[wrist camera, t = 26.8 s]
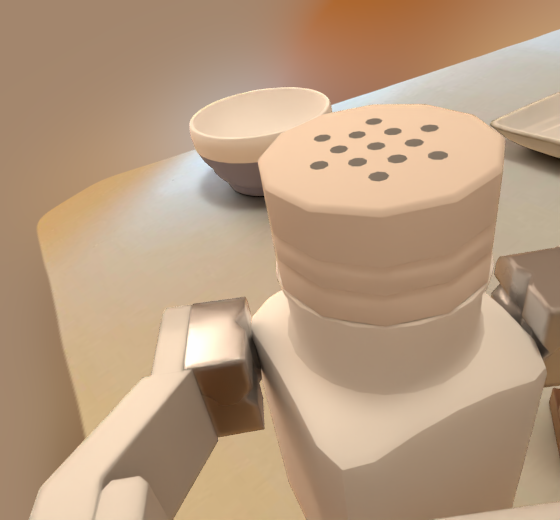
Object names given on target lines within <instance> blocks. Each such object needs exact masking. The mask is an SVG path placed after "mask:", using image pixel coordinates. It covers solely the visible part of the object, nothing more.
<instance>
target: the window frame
mask: <svg viewBox="0 0 560 520" xmlns="http://www.w3.org/2000/svg"><path fill="white" fill-rule="evenodd" d="M549 404H550V409H551V414H552V419H553V425H554V430H555V435H556V440H557V445H558V451H559V456H560V389H557V388H553V390H552V394H551V397H550V401H549Z"/></svg>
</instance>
